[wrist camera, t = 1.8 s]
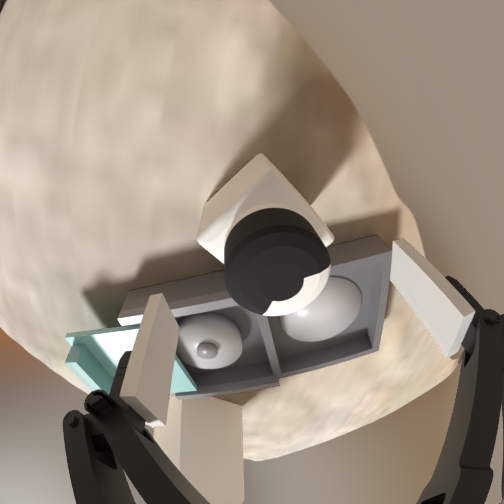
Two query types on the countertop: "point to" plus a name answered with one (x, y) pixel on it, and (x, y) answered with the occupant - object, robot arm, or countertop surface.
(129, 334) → the lid
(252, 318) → the housing
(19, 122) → the countertop surface
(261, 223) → the medicine bottle
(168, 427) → the milk
